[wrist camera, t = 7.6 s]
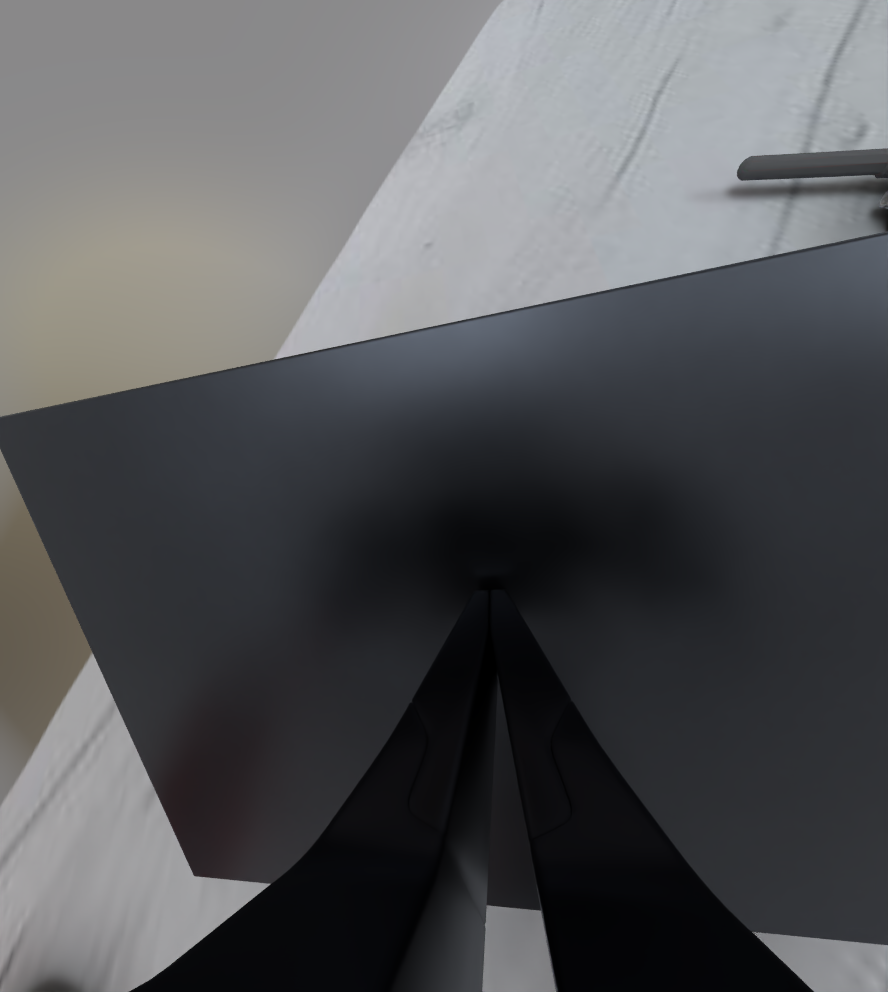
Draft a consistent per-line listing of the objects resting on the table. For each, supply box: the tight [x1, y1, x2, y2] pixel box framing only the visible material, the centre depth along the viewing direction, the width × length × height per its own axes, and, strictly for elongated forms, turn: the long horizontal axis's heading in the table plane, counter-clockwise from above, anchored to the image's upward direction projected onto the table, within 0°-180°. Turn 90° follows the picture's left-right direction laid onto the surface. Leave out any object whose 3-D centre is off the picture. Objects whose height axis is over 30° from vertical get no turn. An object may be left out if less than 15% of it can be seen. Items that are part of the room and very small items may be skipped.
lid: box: [0, 232, 888, 945], centre depth 10 cm, size 19×28×1 cm
